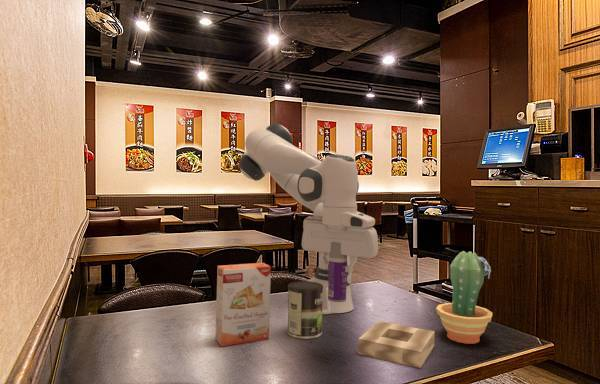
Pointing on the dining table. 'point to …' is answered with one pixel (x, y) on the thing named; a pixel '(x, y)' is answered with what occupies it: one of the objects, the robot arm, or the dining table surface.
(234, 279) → the cracker box
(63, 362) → the dining table surface
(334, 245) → the container
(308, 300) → the coffee can
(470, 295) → the potted cactus
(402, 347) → the organizer block
